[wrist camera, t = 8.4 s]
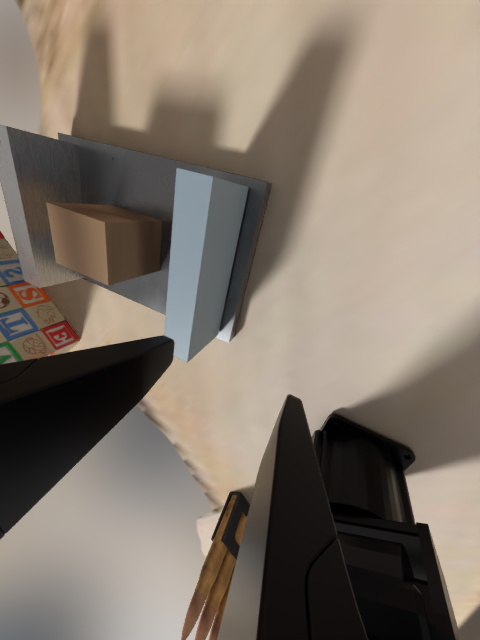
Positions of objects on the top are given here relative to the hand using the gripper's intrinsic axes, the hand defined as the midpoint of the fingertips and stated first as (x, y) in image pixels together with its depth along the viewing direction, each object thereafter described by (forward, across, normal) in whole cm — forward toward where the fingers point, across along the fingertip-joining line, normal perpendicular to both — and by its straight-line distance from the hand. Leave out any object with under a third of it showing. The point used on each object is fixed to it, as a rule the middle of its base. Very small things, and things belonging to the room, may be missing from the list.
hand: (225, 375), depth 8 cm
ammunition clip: (+11, -6, +31) cm, 33 cm away
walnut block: (+10, +14, 0) cm, 17 cm away
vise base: (+11, +12, 0) cm, 17 cm away
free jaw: (+10, +6, 0) cm, 11 cm away
